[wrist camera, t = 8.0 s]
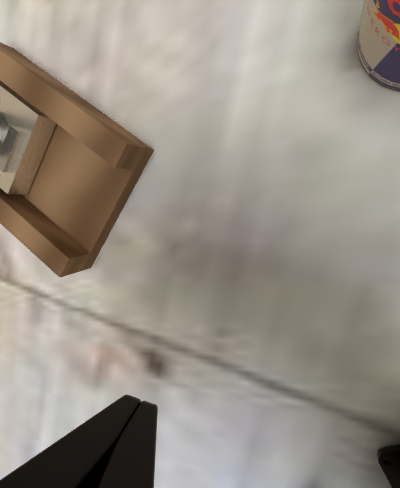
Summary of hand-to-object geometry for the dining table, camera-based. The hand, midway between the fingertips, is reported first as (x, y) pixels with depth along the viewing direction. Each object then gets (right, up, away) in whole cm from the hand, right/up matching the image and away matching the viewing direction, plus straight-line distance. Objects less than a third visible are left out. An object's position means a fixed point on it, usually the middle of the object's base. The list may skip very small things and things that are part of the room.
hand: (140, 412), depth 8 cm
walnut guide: (-10, +10, +16) cm, 22 cm away
